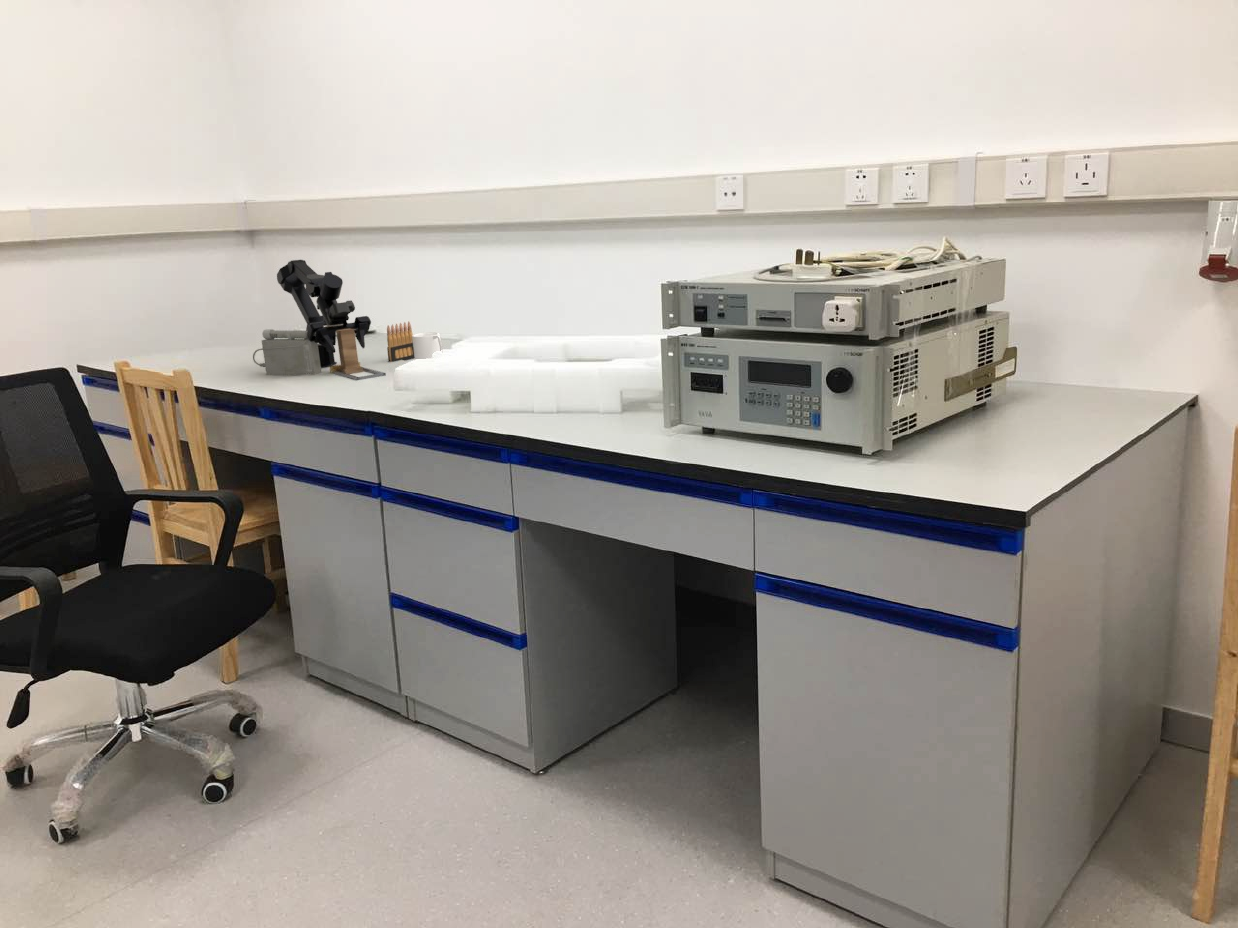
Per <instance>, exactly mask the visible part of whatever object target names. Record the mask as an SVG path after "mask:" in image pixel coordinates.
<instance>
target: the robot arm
mask: <svg viewBox="0 0 1238 928" xmlns="http://www.w3.org/2000/svg"><path fill="white" fill-rule="evenodd" d="M276 279H277V283H278V284H279V285H280V286H281V288H282V290H283V291H284V292H286V293H288V294H290V295H291V296H292V299H293V300H294V301H295V304H296V305H297V307H298V309H299V311H300V313H301V315H302V318H304V319H303V320H304V322H305V323H306V327H305V331H308V332H307V337H308V338H303V339H309V341H311V342H312V341H314V342H315V343H318V350H319V358H320V365H321V368H326V367H330V366H334V365H336V364H338V362H337V361H335V353H336V348H335V346H336V343H337V342H336V341H337V333H336V330H342V329H349V328H350V329H354V333H355V339H356V340H357V342H358V344H359V345H360V347H361V348H362V349H365V347H366V346H365V345H366V343H365V335H366V334H368V333H369V330H370V327H371V324H372V321H371V319H370V317H369V316H367V315H365V316H364V315H363V316H356V317H355V319H354V322H348V321H349V320H350V317H349V314H351V313H354V311H355V309H356V306H355V303H354V301H353V300H351V299H350V300H346V301H345V302H338V300H337V299H339V298H340V295H341V291H342V287H343V283H344V282H343V278H342V277H340V276H339V275H336V274H333V273H332V271H326V272H324V275H323V274H319V273H317V272H316V271H315V270H314V269H312V268H311V267H310V266H309V265H308V264H307V262H306V260H304V259H292V260H290V261H288V263H286V265H283V266H282V267H281V268H279V269H278V272H277V273H276ZM312 298H317V299H316V305H315V304H314V302H313V299H312ZM318 310H319V311H320V313H321V315H320V313H319V311H318Z"/></svg>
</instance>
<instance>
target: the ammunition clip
mask: <svg viewBox="0 0 1238 928" xmlns="http://www.w3.org/2000/svg"><path fill="white" fill-rule="evenodd" d="M412 329H413V328H412V325H411V322H410V321H408V322H407V323H406V322H405V321H404V322H403V324H402V323H401V322H400V323H399V326H398V323H395V326H394V324H391V327H390V326H389V325H387V327H386V336H387V337H386V338H387V348H386V349H387V359H388V362H390V363H394V362H398V361H404V362H405V361H409V360H415V357H414V348H413V340H412V335H414V333H413V330H412Z"/></svg>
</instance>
